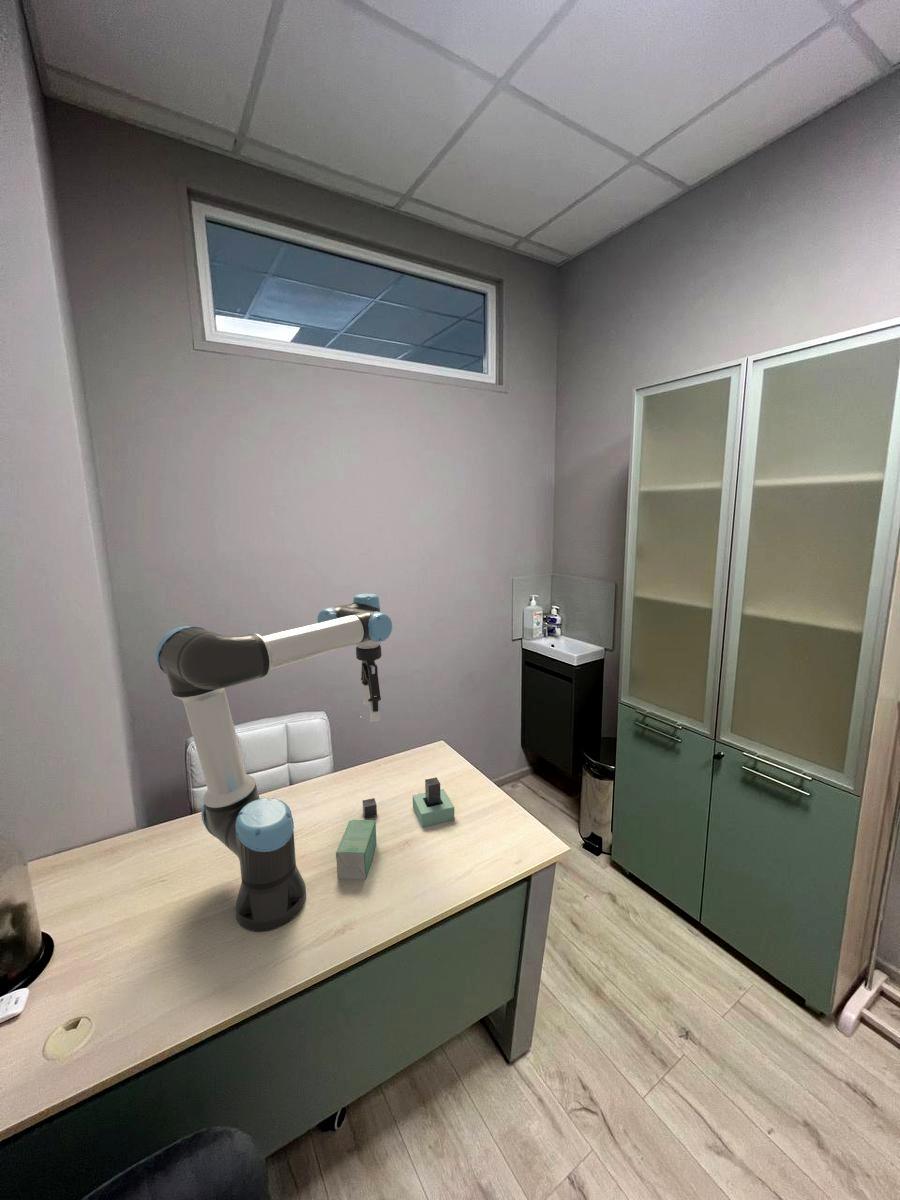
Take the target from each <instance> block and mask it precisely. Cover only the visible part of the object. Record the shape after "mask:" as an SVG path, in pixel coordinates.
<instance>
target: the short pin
mask: <svg viewBox="0 0 900 1200" xmlns="http://www.w3.org/2000/svg"><path fill="white" fill-rule="evenodd" d="M361 802H362V813H363V817H364V819H368V818H373V817H377V816H378V811H377V810H378V807H377V802H376V798H374V797H372V798H369V799H362V801H361Z"/></svg>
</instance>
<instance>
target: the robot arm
mask: <svg viewBox="0 0 900 1200" xmlns="http://www.w3.org/2000/svg"><path fill="white" fill-rule="evenodd" d="M392 630H393V621H392V618H391V617H390V616H389V615H388V614H386V613H383V612H381V606H380V599H379V596H378V595H377V594H375V593H360V594H359V593H358V594H356V595H354V596H353V601H352V603H349V604H348V603H347V604H343V605H337V606H330V607H328V608H327V607H326V608H324V609H321V610H319V612H318V615H317V623H316V622H315V623H312V624H307V625H302V626H300V627H295V628H290V629H287V630H283V631H282V630H281V631H277V632H274V633H270V634H266V635H265V634H264V635H260V634H259V633H254V632H253V633H250V634H245V635H227V634H222V633H217V632H213V631H210V630H207V629H206V628H203V627H201V626H195V625H194V626H193V625H192V626H191V625H190V626H189V625H187V626H185V625H184V626H179V627H176V628H174V629H172V630H170V631H168V632H167V633H166V634H164V635H163V636H162V638H161V639H160V640H159V642H158V644H157V645H156V649H155V653H154V654H155V662H156V665H157V666H158V667H159V669H160V670H161V672H162V673H164V674H166V677H167V679H168V684H169V686H170V690H171V694H172V696H173V697H174V698H175V699H178V700H181V701H182V703H183V706H184V709H185V713H186V717H187V721H188V724H189V727H190V732H191V736H192V738H193V742H194V745H195V749H196V752H197V756H198V760H199V764H200V766H201V770H202V774H203V778H204V782H205V784H206V791H205V792H204V794H203V797H202V803H203V804H202V807H201V813H200V814H201V815H200V816H201V821H202V824H203V825H204V827H205V830H207V832H208V833H209V834H210V835H212V836H213V837H215V838H216V839H217V840H218V841H220V842H221V843H222V844H223V845H224V846H225V847H227V849H229V850H230V851H231V852H232V853H233V854H234V855H236V856H237V858H238V861H239V865H240V866H239V868H240V877H241V878H240V879H241V882H240V886H239V891H238V894H237V898H236V901H235V917H236V920H237V923H238V925H240V926H241V927H242V928H244V929H246V930H248V931H251V932H266V931H271V930H273V929H277V928H279V927H282V926H284V925H286V924H287V923H289V922H290V921H291V920H293V919H294V918H295V917H296V916H297V915H298V914H299V913H300V912H301V910H302V909H303V908H304V906H305V904H306V900H307V888H306V883H305V880H304V878H303V877H302V874H301V873H300V871H299V869H298V866H297V862H296V861H297V860H296V846H295V845H296V843H295V834H294V833H295V832H294V829H295V823H294V819H293V814H292V810H291V808H290V807H289V805H288V804H287V803H286V802H285V801H283V800H281V799H278V798H275V797H274V798H272V799H270V798H269V797H264V798H261V797H260V795H259V791H258V790H259V789H258V787H257V783H256V780H255V778H254V777H253V776H252V775H250V774H247V773H246V772H247V771H246V768H245V764H244V759H243V757H242V752H241V749H240V745H239V740H238V737H237V732H236V728H235V725H234V721H233V716H232V713H231V709H230V704H229V700H228V697H227V692H226V689H227V688H231V687H234V686H238V685H241V684H244V683H245V684H246V683H249V682H251V681H255V680H258V679H261V678H265V677H267V676H268V674H269V673H270V671H271V670H275V669H278V668H281V667H285V666H287V665H291V664H294V663H299V662H302V661H304V660H308V659H311V658H314V657H317V656H321V655H324V654H328V653H331V652H333V651H338V650H341V649H344V648H347V647H350V646H351V647H352V646H356V648H355V657H356V659H357V660H358V661H361V673H360V674H361V675H360V677H361V678H360V681H361V684H362V701H363V703H362V705H363V706H368V705H369V717H370V723H375V722H380V721H381V711H380V710H381V707H380V705H381V704H380V701H381V700H382V697H381V692H380V684H379V683H380V682H379V681H380V680H379V675H378V673H379V671H378V665H377V664H376V662H375V661H377V660H380V659H381V658H382V646H381V643H382V642H384V641H387V639H389V637H390V636H391V633H392Z"/></svg>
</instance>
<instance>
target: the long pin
mask: <svg viewBox="0 0 900 1200" xmlns="http://www.w3.org/2000/svg"><path fill="white" fill-rule="evenodd" d="M424 785H425V786H424V790H425V792H424V793H425V796H426V806H427V807H432V806H436V805H441V796H440V790H441V782H440V780H439V778H438V777H431V778H425V779H424Z"/></svg>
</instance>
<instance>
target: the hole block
mask: <svg viewBox="0 0 900 1200" xmlns="http://www.w3.org/2000/svg"><path fill="white" fill-rule="evenodd" d="M440 796H441V805H436V806H432V807H427V806H426V796H425V792H423V793H418V794H413V795H412V808H413V811H414V813H415V815H416V817H417V820H418V822H419V824H420V827H427V826H432V825H436V824H440V823H441V824H442V823H445V822H449V821H453V820H455V818H456V817H455V806H454V804H453V802H452V800H451V799H450V798H449V796H448V794H447V792H446V791H445V789H444V788H442V789H441V788H440Z"/></svg>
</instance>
